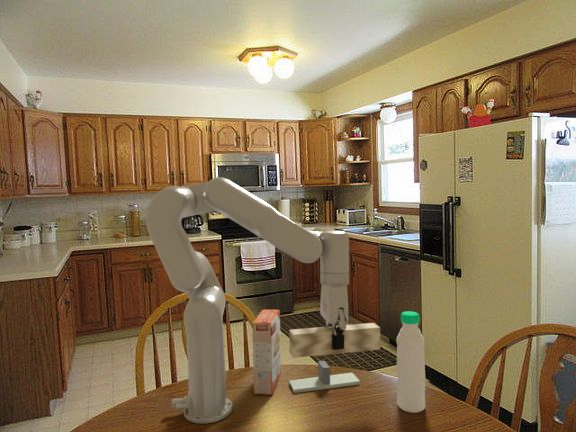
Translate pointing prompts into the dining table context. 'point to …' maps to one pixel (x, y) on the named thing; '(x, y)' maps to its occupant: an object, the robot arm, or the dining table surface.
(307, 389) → the stand
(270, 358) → the cracker box
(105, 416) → the dining table surface
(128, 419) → the dining table surface
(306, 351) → the birch bar
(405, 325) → the water bottle
